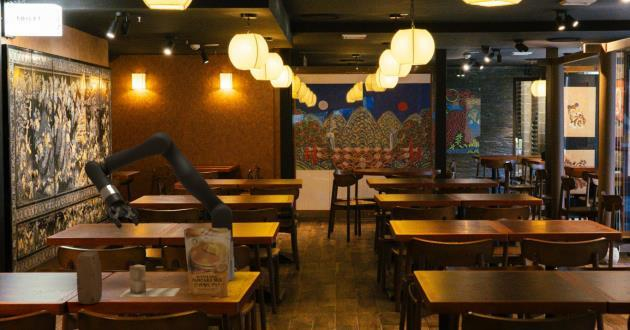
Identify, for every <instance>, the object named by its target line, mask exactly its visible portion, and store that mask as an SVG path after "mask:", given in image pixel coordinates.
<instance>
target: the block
mask: <svg viewBox="0 0 630 330" xmlns="http://www.w3.org/2000/svg"><path fill="white" fill-rule="evenodd" d="M76 261H77V263H76V292H77V293H76V294H77V302H78V303H79V304H81V305H93V304H98V303H99V302H100V300H101V297H102V296H103V295H102V294H103V274H102V265H101V264H102V263H101V260H100V254H99V251H97V250H95V251H94V250H92V251H91V250H90V251H84V252H81V253H79V254H78V255H77V257H76Z"/></svg>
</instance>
